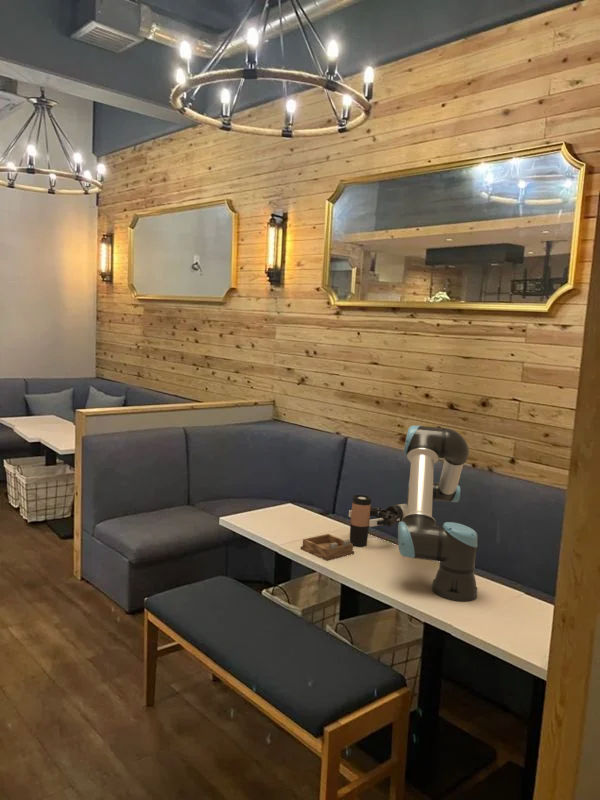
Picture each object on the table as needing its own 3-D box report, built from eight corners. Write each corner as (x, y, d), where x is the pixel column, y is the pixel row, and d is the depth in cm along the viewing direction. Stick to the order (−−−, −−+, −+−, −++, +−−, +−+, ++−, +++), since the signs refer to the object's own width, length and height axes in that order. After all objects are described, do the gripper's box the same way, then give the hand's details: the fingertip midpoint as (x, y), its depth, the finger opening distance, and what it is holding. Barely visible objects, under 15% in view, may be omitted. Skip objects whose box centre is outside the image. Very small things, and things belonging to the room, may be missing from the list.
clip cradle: (354, 553, 247) (355, 539, 246) (326, 560, 237) (327, 546, 237) (327, 542, 258) (328, 529, 258) (300, 548, 248) (301, 534, 248)
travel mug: (345, 544, 257) (349, 497, 255) (353, 539, 264) (357, 493, 262) (363, 548, 254) (367, 500, 252) (370, 543, 261) (374, 496, 259)
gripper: (417, 530, 260) (378, 536, 248) (378, 514, 281) (340, 518, 269) (419, 513, 259) (379, 518, 247) (379, 497, 280) (342, 501, 268)
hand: (359, 518), depth 258 cm, fingers open, 13 cm apart
